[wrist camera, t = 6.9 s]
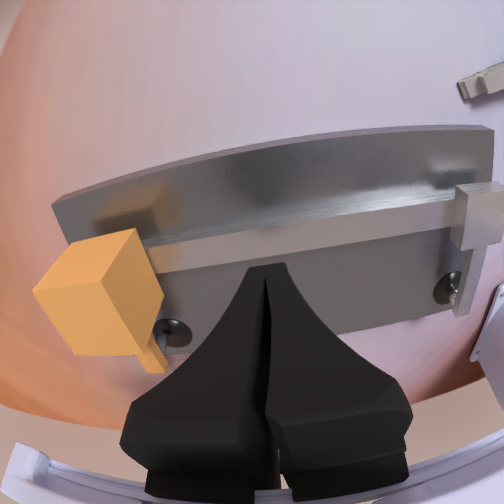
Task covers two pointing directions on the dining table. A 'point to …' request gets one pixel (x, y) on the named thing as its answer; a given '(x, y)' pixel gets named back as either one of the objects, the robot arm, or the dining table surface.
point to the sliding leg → (106, 299)
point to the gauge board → (310, 224)
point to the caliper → (483, 82)
